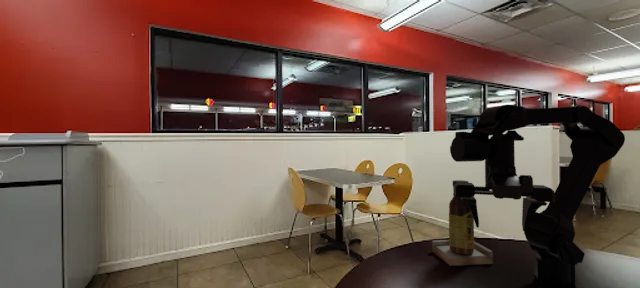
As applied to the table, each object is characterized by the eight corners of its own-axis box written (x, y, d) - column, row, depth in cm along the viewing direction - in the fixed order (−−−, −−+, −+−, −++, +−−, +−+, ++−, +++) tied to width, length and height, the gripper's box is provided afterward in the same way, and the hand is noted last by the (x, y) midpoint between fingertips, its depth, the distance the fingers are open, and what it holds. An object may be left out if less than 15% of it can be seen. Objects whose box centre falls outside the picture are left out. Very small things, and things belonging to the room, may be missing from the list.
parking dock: (470, 249, 85) (470, 238, 85) (492, 263, 75) (492, 251, 75) (432, 251, 84) (432, 240, 84) (450, 265, 74) (450, 253, 74)
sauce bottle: (473, 257, 74) (472, 183, 74) (447, 253, 77) (446, 181, 77) (475, 249, 80) (473, 180, 80) (451, 245, 83) (450, 179, 83)
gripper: (457, 162, 60) (458, 235, 60) (566, 164, 53) (567, 246, 53) (453, 159, 70) (454, 221, 70) (544, 160, 63) (545, 229, 63)
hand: (500, 229), depth 64 cm, fingers open, 9 cm apart
